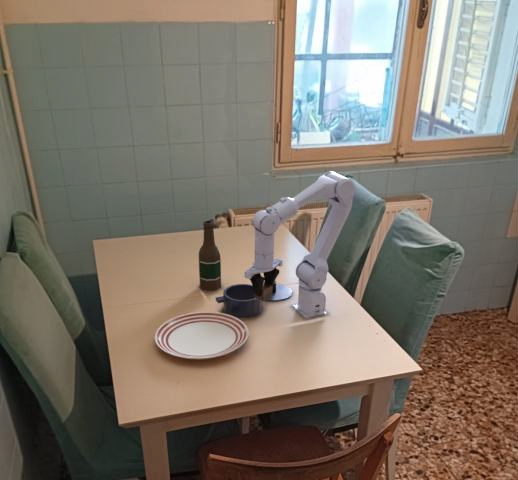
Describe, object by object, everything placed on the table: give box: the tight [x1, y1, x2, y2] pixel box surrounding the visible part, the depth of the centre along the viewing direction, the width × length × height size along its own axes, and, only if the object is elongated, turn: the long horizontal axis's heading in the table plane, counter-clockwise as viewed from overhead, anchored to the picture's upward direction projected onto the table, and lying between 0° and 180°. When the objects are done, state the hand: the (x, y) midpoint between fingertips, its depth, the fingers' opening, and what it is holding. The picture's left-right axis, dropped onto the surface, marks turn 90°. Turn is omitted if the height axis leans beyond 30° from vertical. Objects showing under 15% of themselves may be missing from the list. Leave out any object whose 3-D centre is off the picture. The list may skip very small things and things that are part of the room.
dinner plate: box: [154, 311, 250, 360], centre depth 167 cm, size 28×27×3 cm
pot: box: [215, 283, 264, 319], centre depth 184 cm, size 13×18×6 cm
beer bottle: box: [198, 220, 222, 292], centre depth 193 cm, size 8×8×24 cm
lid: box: [264, 280, 293, 302], centre depth 195 cm, size 14×14×5 cm
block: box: [254, 281, 273, 302], centre depth 175 cm, size 4×4×4 cm
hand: (263, 293), depth 175 cm, fingers closed on block, 4 cm apart
